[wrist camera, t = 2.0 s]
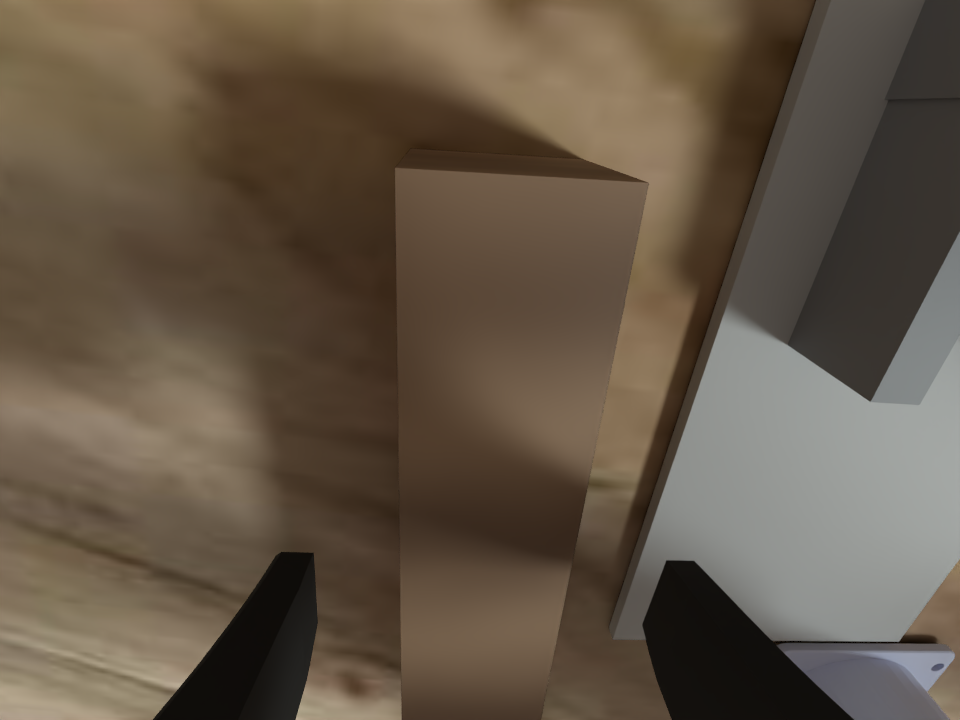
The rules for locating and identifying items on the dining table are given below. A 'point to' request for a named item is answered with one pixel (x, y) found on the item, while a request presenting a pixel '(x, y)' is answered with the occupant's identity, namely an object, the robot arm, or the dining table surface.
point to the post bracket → (831, 351)
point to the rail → (499, 411)
